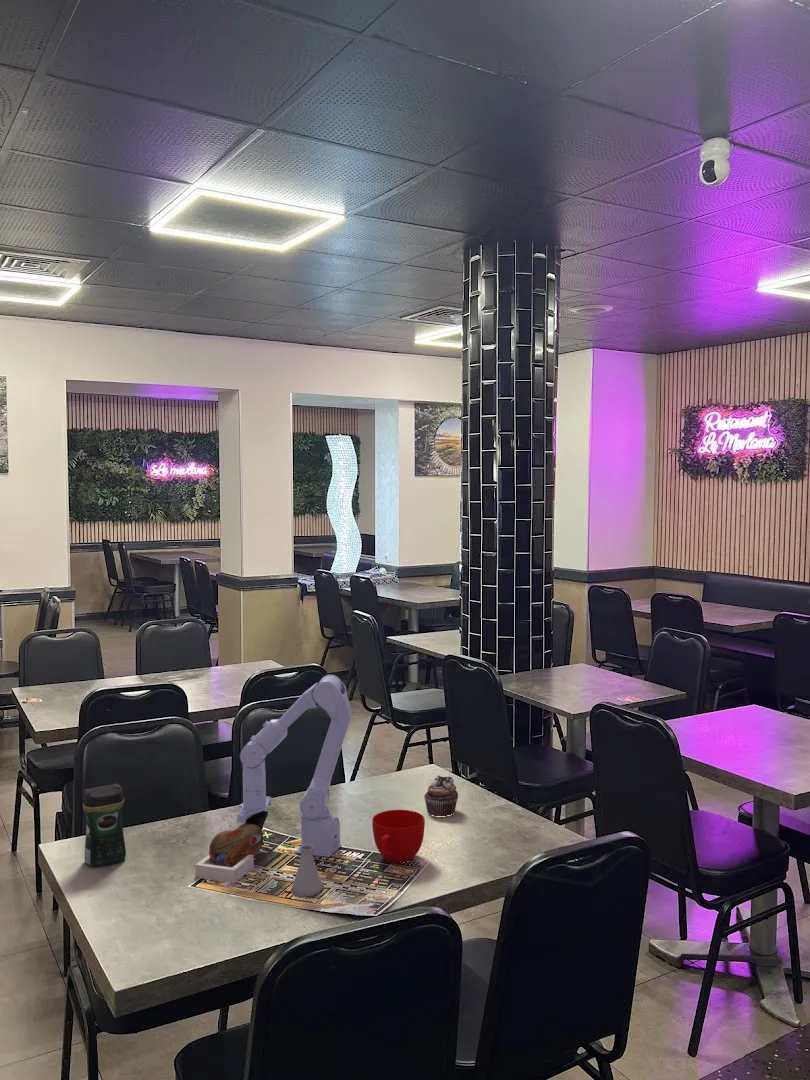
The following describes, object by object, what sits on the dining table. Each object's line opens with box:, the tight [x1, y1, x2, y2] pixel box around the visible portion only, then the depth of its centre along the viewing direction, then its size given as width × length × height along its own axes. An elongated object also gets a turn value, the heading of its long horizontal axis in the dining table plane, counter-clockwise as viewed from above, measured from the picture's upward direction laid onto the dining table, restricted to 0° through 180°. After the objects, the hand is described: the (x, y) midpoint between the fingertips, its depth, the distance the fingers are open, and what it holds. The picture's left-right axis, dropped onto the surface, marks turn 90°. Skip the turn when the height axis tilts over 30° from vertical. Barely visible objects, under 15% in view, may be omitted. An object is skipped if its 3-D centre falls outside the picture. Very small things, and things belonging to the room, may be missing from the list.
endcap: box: [194, 854, 255, 884], centre depth 205 cm, size 10×9×3 cm
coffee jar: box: [82, 783, 127, 868], centre depth 213 cm, size 10×8×19 cm
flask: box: [290, 845, 325, 897], centre depth 195 cm, size 7×7×10 cm
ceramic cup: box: [371, 809, 426, 864], centre depth 210 cm, size 13×17×10 cm
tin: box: [208, 823, 264, 868], centre depth 211 cm, size 15×3×8 cm, turn 139°
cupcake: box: [423, 775, 459, 816], centre depth 244 cm, size 10×10×10 cm
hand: (255, 841), depth 220 cm, fingers closed
